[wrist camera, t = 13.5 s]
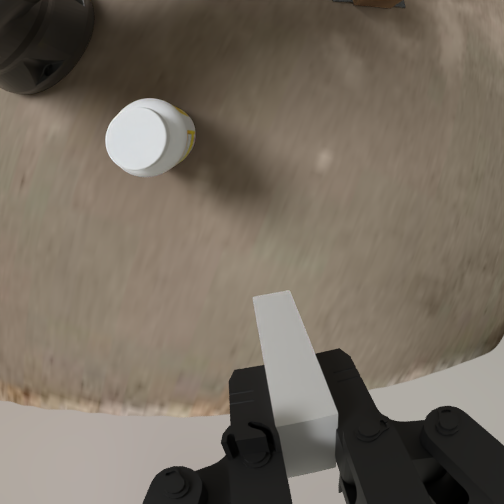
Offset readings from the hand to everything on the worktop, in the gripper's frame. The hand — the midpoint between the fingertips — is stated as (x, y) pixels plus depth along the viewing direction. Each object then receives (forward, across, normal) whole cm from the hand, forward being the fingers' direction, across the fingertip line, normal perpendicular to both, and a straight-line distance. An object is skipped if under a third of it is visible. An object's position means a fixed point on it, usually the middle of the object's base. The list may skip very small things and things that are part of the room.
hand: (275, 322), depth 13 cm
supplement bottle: (+25, -7, +9) cm, 27 cm away
